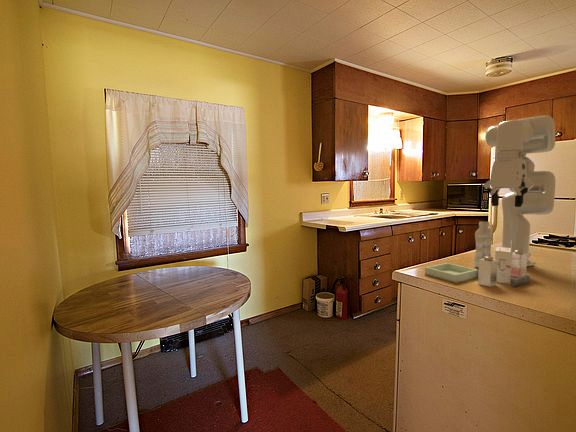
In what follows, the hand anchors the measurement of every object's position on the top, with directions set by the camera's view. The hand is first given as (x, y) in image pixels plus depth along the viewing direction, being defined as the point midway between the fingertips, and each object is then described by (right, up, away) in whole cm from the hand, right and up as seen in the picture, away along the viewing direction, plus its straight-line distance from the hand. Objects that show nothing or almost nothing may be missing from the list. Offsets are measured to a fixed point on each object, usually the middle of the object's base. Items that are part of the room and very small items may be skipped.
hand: (506, 205), depth 108 cm
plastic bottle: (+4, -26, +19) cm, 32 cm away
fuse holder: (0, -28, +2) cm, 28 cm away
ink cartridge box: (+1, -28, +3) cm, 28 cm away
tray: (-15, -27, +9) cm, 32 cm away
